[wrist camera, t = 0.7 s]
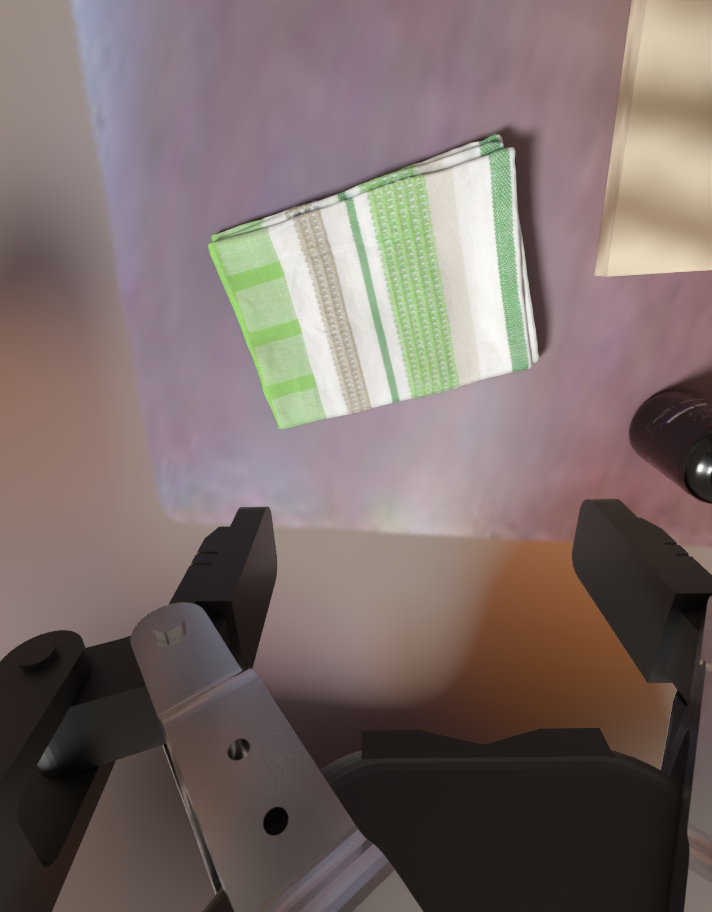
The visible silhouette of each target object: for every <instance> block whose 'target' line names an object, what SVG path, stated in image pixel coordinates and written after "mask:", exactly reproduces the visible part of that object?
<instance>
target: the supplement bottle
mask: <svg viewBox="0 0 712 912" xmlns="http://www.w3.org/2000/svg"><path fill="white" fill-rule="evenodd" d="M629 439H630V443H631V445H632V448H633V449H634V451H635V452H636V453H637V454H638V455H639V456H640V457H642V458H643V459H644V460H645V461H647V462H648V463H649V464H650V465H652V466H653V467H654V468H656V469H657V470H658V471H660V472H661V473H662V474H664V475H665V476H666V477H667V478H669V479H670V480H671V481H673V482H674V483H675V484H677V485H678V486H679V487H680V488H682V489H683V490H684V491H686V492H687V493H688V494H690V495H691V496H693V497H694V498H696V499H697V500H699V501H702V502H704V503H708V504H712V400H710V399H708V398H705V397H703V396H701V395H698V394H696V393H693V392H690V391H685V390H673V391H668V392H664V393H661V394H659V395H656V396H655V397H653V398H651V399H650V400H648V401H647V402H646V403H644V404H643V405H642V406H641V407H640V408H639V410H638V411H637V412H636V414H635V415H634V417H633V419H632V421H631V424H630V429H629Z"/></svg>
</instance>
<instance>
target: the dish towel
mask: <svg viewBox="0 0 712 912" xmlns="http://www.w3.org/2000/svg"><path fill="white" fill-rule="evenodd" d="M211 238H212V241H213V242H211V243H209V245H208V248H209V252H210V255H211V258H212V260H213V262H214V264H215V267H216V269H217V272H218V274H219V276H220V279H221V281H222V284H223V286H224V288H225V290H226V293H227V295H228V297H229V300H230V302H231V304H232V306H233V309H234V311H235V314H236V316H237V319H238V321H239V324H240V326H241V329H242V332H243V335H244V337H245V340H246V343H247V345H248V348H249V350H250V352H251V355H252V357H253V360H254V363H255V365H256V368H257V371H258V374H259V377H260V381H261V384H262V388H263V392H264V394H265V397H266V399H267V401H268V403H269V405H270V407H271V409H272V411H273V414H274V417H275V419H276V421H277V423H278V428H279V429H286V428H291V427H294V426H298V425H302V424H306V423H310V422H313V421H317V420H322V419H326V418H331V417H337V416H342V415H347V414H351V413H357V412H360V411H365V410H368V409H371V408H374V407H378V406H382V405H386V404H390V403H393V402H398V401H403V400H407V399H413V398H417V397H423V396H426V395H430V394H434V393H439V392H442V391H447V390H450V389H453V388H457V387H459V386H463V385H466V384H470V383H473V382H476V381H479V380H482V379H485V378H491V377H495V376H499V375H503V374H506V373H510V372H516V371H521V370H527V369H529V368H531V366H532V364H533V363H535V362H537V361H538V360H539V354H538V343H537V338H536V328H535V323H534V316H533V307H532V302H531V296H530V289H529V282H528V276H527V267H526V259H525V251H524V244H523V238H522V232H521V226H520V221H519V214H518V207H517V184H516V167H515V149H514V148H513V147H509V148H506V147H505V148H504V145H503V139H502V137H501V136H500V135H499V134H494V135H492V136H490V137H488V138H486V139H485V140H483V141H479V142H473V143H469V144H467V145H464V146H462V147H459V148H455V149H452V150H450V151H448V152H446V153H442V154H440V155H437V156H435V157H433V158H430V159H428V160H426V161H423V162H420V163H416V164H413V165H410V166H407V167H404V168H402V169H400V170H397V171H394V172H392V173H389V174H385V175H383V176H381V177H376V178H374V179H372V180H370V181H367V182H365V183H362V184H360V185H358V186H355V187H353V188H351V189H349V190H346V191H344V192H342V193H339V194H336V195H333V196H330V197H328V198H325V199H322V200H319V201H313V202H311V203H307V204H303V205H301V206H296V207H293V208H291V209H288V210H286V211H283V212H281V213H278V214H275V215H272V216H269V217H265V218H263V219H261V220H257V221H252V222H249V223H246V224H243V225H239V226H237V227H234V228H232V229H229V230H226V231H224V232H221V233H217V234H214V235H212V236H211Z"/></svg>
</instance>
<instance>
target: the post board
mask: <svg viewBox="0 0 712 912" xmlns="http://www.w3.org/2000/svg"><path fill="white" fill-rule="evenodd" d="M701 270H712V0H631V8H630V15H629V23H628V30H627V38H626V45H625V53H624V60H623V67H622V75H621V82H620V90H619V97H618V105H617V112H616V120H615V127H614V134H613V142H612V149H611V157H610V164H609V172H608V179H607V187H606V194H605V202H604V209H603V216H602V224H601V231H600V239H599V246H598V254H597V261H596V269H595V276H623V275H638V274H654V273H670V272H686V271H701Z"/></svg>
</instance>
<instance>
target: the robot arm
mask: <svg viewBox="0 0 712 912" xmlns="http://www.w3.org/2000/svg"><path fill="white" fill-rule="evenodd" d="M676 543H677V542H675V541H674V540H673V539H672V538H671V537H670V536H669V535H668V534H667V533H666V532H665V531H664V530H663V529H661V528H659V527H657V526H656V525H654V524H652V523H650V522H648V521H646V520H645V519H643V518H638V517H637V516H636V515H635V514H634V513H632V512H631V511H630V510H629V509H628V508H627V507H626V506H625V505H624V504H623V503H622V502H621V501H620V500H618V499H591V500H585V501H584V502H583V503H582V505H581V507H580V512H579V517H578V523H577V528H576V534H575V539H574V544H573V550H572V561H573V566H574V570H575V573H576V575H577V576H578V578H579V579H580V581H581V583H582V584H583V586H584V587H585V589H586V590H587V592H588V593H589V595H590V596H591V597H592V599H593V601H594V602H595V604H596V605H597V607H598V608H599V610H600V611H601V613H602V614H603V616H604V617H605V619H606V620H607V622H608V623H609V625H610V627H611V628H612V630H613V631H614V633H615V634H616V636H617V637H618V639H619V640H620V642H621V643H622V645H623V646H624V648H625V649H626V651H627V652H628V654H629V655H630V657H631V658H632V660H633V662H634V663H635V665H636V666H637V668H638V669H639V671H640V672H641V674H642V675H643V677H644V678H645V680H646V681H647V683H673V684H674V686H675V687H676V688H677V691H676V694H675V697H674V700H673V704H672V709H671V715H670V720H669V726H668V732H667V738H666V743H665V748H664V754H663V761H662V765H661V770H659V769H657V768H655V767H653V766H651V765H650V764H647V763H645V762H643V761H640V760H638V759H636V758H634V757H631V756H628V755H625V754H622V753H619V752H616V751H612V750H610V748H609V746H608V744H607V742H606V740H605V738H604V736H603V734H602V732H601V730H600V728H564V729H538V730H535V731H531V732H528V733H524V734H521V735H518V736H514V737H511V738H507V739H503V740H500V741H497V742H493V743H490V744H476V743H472V742H468V741H463V740H459V739H455V738H451V737H446V736H442V735H438V734H434V733H429V732H425V731H421V730H391V731H388V730H387V731H362V751H359V752H356V753H352V754H349V755H347V756H345V757H343V758H340V759H338V760H336V761H335V762H333V763H331V764H329V765H328V766H326V767H324V768H323V769H322V770H319V769H318V767H317V766H316V764H315V763H314V761H313V760H312V758H311V757H310V755H309V754H308V752H307V751H306V749H305V747H304V746H303V744H302V743H301V741H300V740H299V738H298V737H297V736H296V734H295V732H294V731H293V729H292V728H291V726H290V725H289V723H288V722H287V720H286V719H285V717H284V716H283V714H282V712H281V711H280V709H279V708H278V706H277V705H276V703H275V702H274V700H273V699H272V697H271V696H270V694H269V693H268V691H267V690H266V688H265V687H264V685H263V684H262V682H261V681H260V679H259V678H258V676H257V675H256V674H255V672H254V671H253V670H252V668H253V665H254V661H255V657H256V653H257V650H258V646H259V641H260V638H261V634H262V630H263V627H264V623H265V619H266V615H267V612H268V608H269V604H270V600H271V596H272V593H273V588H274V585H275V581H276V575H277V555H276V546H275V539H274V531H273V523H272V515H271V511H270V508H269V507H240V508H239V509H238V511H237V513H236V515H235V518H234V520H233V522H232V524H231V526H230V527H218V528H217V529H216V530H215V531H214V532H212V533H211V534H210V535H209V536H207V537H206V538H205V539H204V541H203V543H202V545H201V546H200V548H199V550H198V552H197V555H196V556H195V557H194V559H193V561H192V563H191V566H189V568H188V570H187V572H186V574H185V576H184V578H183V579H182V581H181V583H180V585H179V586H178V588H177V590H176V592H175V594H174V596H173V598H172V599H171V601H170V603H169V605H165V606H162V607H160V608H158V609H156V610H154V611H152V612H150V613H149V614H147V615H146V616H145V617H143V618H142V619H141V620H140V621H139V622H138V623H137V625H136V626H135V627H134V629H133V631H132V633H131V636H129V637H126V638H122V639H119V640H115V641H111V642H107V643H103V644H99V645H96V646H92V647H88V648H85V645H84V642H83V640H82V638H81V636H80V635H79V634H77V633H75V632H72V631H67V630H60V631H53V632H48V633H45V634H41V635H39V636H36V637H34V638H32V639H30V640H28V641H26V642H24V643H22V644H21V645H19V646H17V647H16V648H15V649H13V650H12V651H11V652H10V653H8V655H6V656H5V657H4V658H3V659H2V660H1V661H0V912H52V910H53V908H54V905H55V903H56V900H57V898H58V896H59V893H60V891H61V889H62V886H63V884H64V882H65V879H66V877H67V874H68V872H69V870H70V867H71V865H72V863H73V860H74V858H75V856H76V853H77V851H78V849H79V846H80V844H81V842H82V839H83V837H84V834H85V832H86V830H87V827H88V825H89V822H90V820H91V818H92V816H93V813H94V811H95V809H96V806H97V804H98V801H99V799H100V797H101V794H102V792H103V790H104V787H105V785H106V783H107V780H108V778H109V776H110V773H111V771H112V769H113V766H114V764H115V761H116V760H117V759H121V758H123V757H127V756H130V755H133V754H136V753H139V752H142V751H145V750H148V749H151V748H154V747H158V746H161V745H163V748H164V751H165V753H166V756H167V759H168V761H169V764H170V767H171V770H172V772H173V775H174V778H175V781H176V784H177V786H178V789H179V792H180V795H181V797H182V800H183V803H184V806H185V808H186V811H187V814H188V816H189V819H190V822H191V825H192V828H193V830H194V833H195V836H196V839H197V842H198V845H199V848H200V851H201V854H202V857H203V860H204V863H205V865H206V868H207V871H208V874H209V877H210V880H211V883H212V885H213V888H214V891H215V893H216V895H215V896H214V898H213V899H212V900H211V901H210V902H209V904H208V905H207V906H206V908H205V909H204V910H203V911H202V912H712V575H711V574H710V573H709V572H708V571H707V570H706V569H704V568H703V567H702V566H701V565H700V564H699V563H698V562H697V561H696V560H695V559H694V558H693V557H689V555H688V553H687V552H686V551H685V550H684V549H683V548H682V547H681V546H680V545H677V544H676Z"/></svg>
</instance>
